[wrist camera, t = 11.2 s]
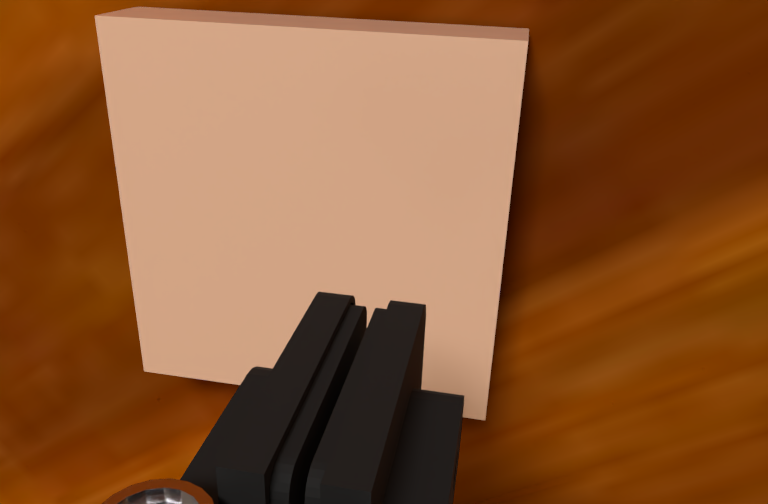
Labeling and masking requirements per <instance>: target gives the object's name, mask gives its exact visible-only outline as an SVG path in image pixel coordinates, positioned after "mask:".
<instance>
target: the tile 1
mask: <svg viewBox="0 0 768 504" xmlns="http://www.w3.org/2000/svg"><path fill="white" fill-rule="evenodd" d="M95 21H96V29H97V36H98V43H99V50H100V57H101V64H102V72H103V79H104V86H105V93H106V100H107V108H108V115H109V122H110V129H111V136H112V144H113V151H114V158H115V165H116V172H117V180H118V187H119V194H120V201H121V208H122V215H123V223H124V230H125V237H126V244H127V251H128V259H129V266H130V273H131V280H132V287H133V295H134V302H135V309H136V316H137V323H138V330H139V338H140V345H141V352H142V359H143V366H144V371H146V372H153V373H160V374H167V375H174V376H180V377H187V378H194V379H201V380H208V381H215V382H222V383H229V384H236V385H241V383H242V381H243V380H244V378H245V377H246V375H247V374H248V372H249V371H250V370H251V369H252V368H253V367H256V366H258V367H266V368H273V367H274V365H275V364H276V362H277V360H278V359H279V357H280V355H281V354H282V352H283V350H284V348H285V347H286V345H287V343H288V342H289V340H290V338H291V336H292V335H293V333H294V331H295V330H296V328H297V326H298V324H299V323H300V321H301V319H302V318H303V316H304V314H305V313H306V311H307V309H308V307H309V306H310V304H311V302H312V301H313V299H314V297H315V295H316V294H317V293H318V292H327V293H336V294H344V295H352V296H354V298H355V303H356V305H358V306H366V309H367V327H368V324H369V322H370V319H371V317H372V315H373V312H374V310H375V308H383V309H387V307H388V304H389V302H390V300H393V301H402V302H410V303H418V304H426V324H425V340H424V355H423V370H422V385H421V389H422V390H429V391H436V392H443V393H450V394H457V395H464V408H463V417H464V418H471V419H478V420H485V418H486V410H487V401H488V392H489V383H490V374H491V366H492V357H493V348H494V339H495V331H496V322H497V313H498V304H499V295H500V287H501V278H502V269H503V260H504V251H505V243H506V234H507V225H508V216H509V207H510V199H511V190H512V181H513V172H514V164H515V155H516V146H517V137H518V128H519V120H520V111H521V102H522V93H523V84H524V76H525V67H526V58H527V49H528V40H529V29H527V28H509V27H491V26H473V25H456V24H438V23H420V22H402V21H384V20H366V19H348V18H330V17H313V16H295V15H277V14H259V13H241V12H223V11H205V10H187V9H170V8H152V7H134V8H129V9H124V10H119V11H114V12H109V13H105V14H100V15H95Z"/></svg>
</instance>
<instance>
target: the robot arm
mask: <svg viewBox="0 0 768 504" xmlns="http://www.w3.org/2000/svg"><path fill="white" fill-rule="evenodd" d="M425 324H426V304H418V303H410V302H402V301H393V300H390V302H389V304H388V307H387V309H383V308H375V310H374V312H373V315H372V317H371V319H370V322H369V324H368V327H367V309H366V306H358V305H356V303H355V298H354V296H352V295H344V294H336V293H327V292H318V293H317V294H316V295H315V297H314V299H313V301H312V302H311V304H310V306H309V307H308V309H307V311H306V313H305V314H304V316H303V318H302V319H301V321H300V323H299V324H298V326H297V328H296V330H295V331H294V333H293V335H292V336H291V338H290V340H289V342H288V343H287V345H286V347H285V348H284V350H283V352H282V354H281V355H280V357H279V359H278V360H277V362H276V364H275V365H274V367H273V368H266V367H258V366H256V367H253V368H252V369H251V370H250V371H249V372H248V374H247V375H246V377H245V378H244V380H243V381H242V383H241V385H240V386H239V388H238V389H237V391H236V393H235V394H234V396H233V397H232V399H231V400H230V402H229V404H228V405H227V407H226V408H225V410H224V411H223V413H222V415H221V416H220V418H219V419H218V421H217V422H216V424H215V426H214V427H213V429H212V430H211V432H210V433H209V435H208V437H207V438H206V440H205V441H204V443H203V445H202V446H201V448H200V449H199V451H198V452H197V454H196V456H195V457H194V459H193V460H192V462H191V463H190V465H189V467H188V468H187V470H186V471H185V473H184V474H183V476H182V478H181V479H180V480H176V479H155V480H148V481H145V482H141V483H138V484H134V485H131V486H129V487H127V488H125V489H123V490H121V491H119V492H117V493H115V494H113V495H112V496H111V497H109V498H108V499H107V500H106V501H105V502H103V503H102V504H453V498H454V490H455V483H456V474H457V466H458V457H459V448H460V439H461V429H462V419H463V408H464V395H457V394H450V393H443V392H436V391H429V390H422V389H421V385H422V370H423V355H424V340H425Z"/></svg>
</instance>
